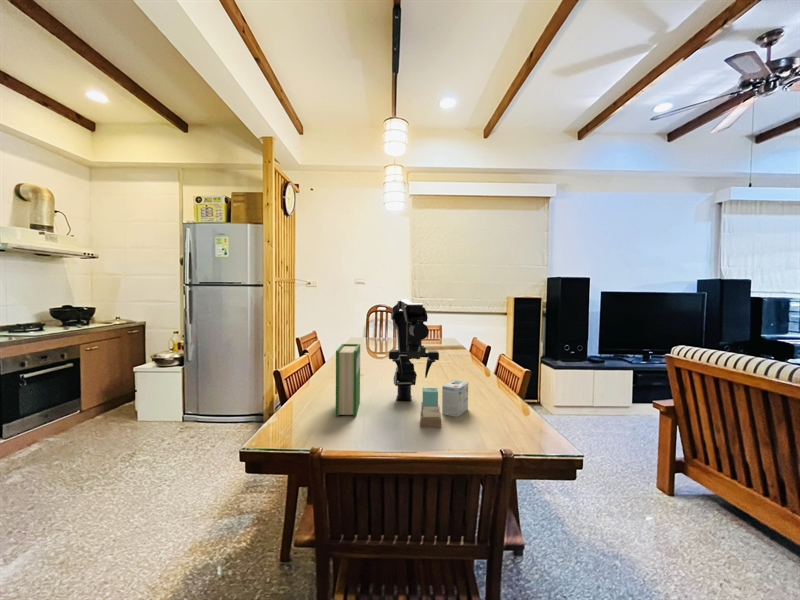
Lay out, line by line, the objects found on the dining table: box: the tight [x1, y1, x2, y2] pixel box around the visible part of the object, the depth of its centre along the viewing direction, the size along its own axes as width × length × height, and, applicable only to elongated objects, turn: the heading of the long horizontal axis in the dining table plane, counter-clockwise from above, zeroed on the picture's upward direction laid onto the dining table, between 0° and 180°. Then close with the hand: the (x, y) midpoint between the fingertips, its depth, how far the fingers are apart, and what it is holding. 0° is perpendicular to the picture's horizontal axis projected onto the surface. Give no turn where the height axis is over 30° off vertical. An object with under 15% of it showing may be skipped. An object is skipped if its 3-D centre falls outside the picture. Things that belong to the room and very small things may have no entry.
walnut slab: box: [419, 410, 442, 429], centre depth 124 cm, size 7×7×4 cm
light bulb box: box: [441, 379, 469, 418], centre depth 137 cm, size 11×7×11 cm, turn 149°
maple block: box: [420, 401, 441, 417], centre depth 124 cm, size 6×6×4 cm
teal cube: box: [422, 387, 439, 407], centre depth 124 cm, size 5×5×5 cm
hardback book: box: [335, 343, 361, 418], centre depth 139 cm, size 18×7×24 cm, turn 2°
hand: (413, 377), depth 137 cm, fingers open, 9 cm apart
